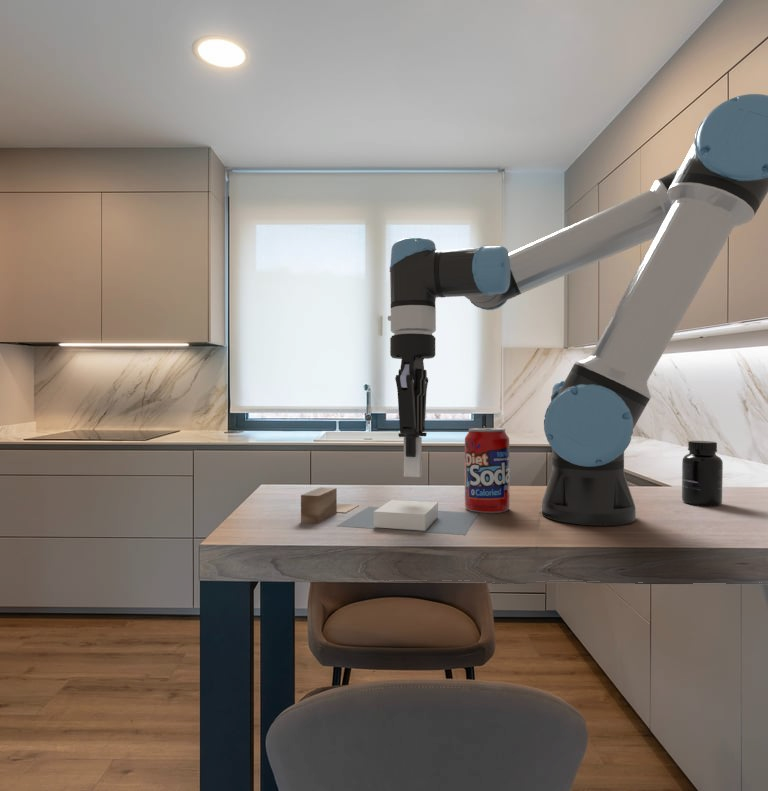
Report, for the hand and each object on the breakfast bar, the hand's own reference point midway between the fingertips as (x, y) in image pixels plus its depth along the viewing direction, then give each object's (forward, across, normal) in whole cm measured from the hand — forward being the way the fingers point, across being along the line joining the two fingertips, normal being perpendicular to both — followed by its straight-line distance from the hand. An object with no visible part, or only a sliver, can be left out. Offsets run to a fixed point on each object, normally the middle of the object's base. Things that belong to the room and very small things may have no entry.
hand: (412, 476), depth 93 cm
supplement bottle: (+8, -31, +50) cm, 59 cm away
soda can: (+8, -11, +11) cm, 17 cm away
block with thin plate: (+8, +1, -15) cm, 17 cm away
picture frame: (+6, -1, 0) cm, 6 cm away
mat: (+8, +1, 0) cm, 8 cm away
